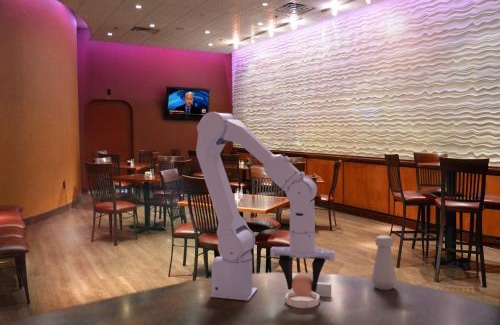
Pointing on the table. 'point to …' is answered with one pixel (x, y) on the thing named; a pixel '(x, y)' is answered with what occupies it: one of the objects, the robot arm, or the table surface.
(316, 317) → the table surface
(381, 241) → the salt shaker
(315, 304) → the coaster
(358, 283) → the table surface
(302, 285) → the ball
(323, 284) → the wall
